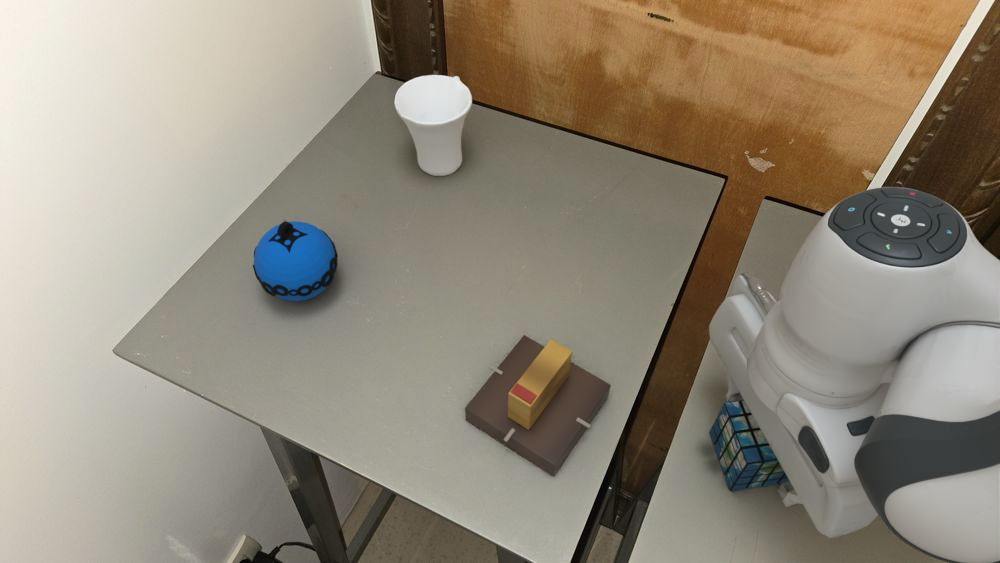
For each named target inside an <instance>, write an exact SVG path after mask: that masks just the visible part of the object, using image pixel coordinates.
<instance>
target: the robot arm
mask: <svg viewBox="0 0 1000 563" xmlns="http://www.w3.org/2000/svg"><path fill="white" fill-rule="evenodd" d="M976 237H977V236H975V234H974V232H973V230H972V229H971V227H970V225H969V223H968V221H967V220H966V218H965V217H964V216H963V215H962V213H960V212H959V210H957V209H956V208H955V207H954V206H952V205H951V204H949V203H948V202H946V201H945V200H943V199H941V198H939V197H937V196H934V195H932V194H930V193H928V192H924V191H921V190H918V189H913V188H908V187H901V186H900V187H899V186H881V187H874V188H870V189H865V190H862V191H859V192H856V193H854V194H851V195H849V196H847V197H845V198H843V199H842V200H841V201H839V202H837V203H836V204H835V205H833V207H831V208H830V209H829V210H828V211H826V212H825V214H824V215H823V216H822V217H821V218H820V219H819V220H818V221H817V223H816V224H815V225H814V226H813V228H812V229H811V230H810V232H809V234H808V235H807V237H806V238H805V239H804V241H803V243H802V244H801V246H800V247H799V250H798V251H797V253H796V255H795V256H794V259H793V260H792V262H791V264H790V266H789V268H788V270H787V272H786V274H785V276H784V278H783V281H782V283H781V287H780V291H779V300H778V301H777V300H776V299H775V297H774V296H773V294H771V293H770V291H768V290H767V288H766V284H764V282H763V281H762V280H761V279H760V278H759V277H757V276H752V274H750V273H748V272H743V273H740V274H739V275H737V277H736V278H735V281H734V283H733V286H732V289H731V296H728V297H726V298H725V299H724V300H723V301H722V302H721V304H720V305H719V307H718V308H717V310H716V311H715V313H714V315H713V316H712V319H711V320H710V323H709V325H708V335H709V340H710V343H711V344H712V347H713V348H714V350H715V351H716V353H717V355H718V356H719V358H720V360H721V362H722V364H723V366H724V367H725V371H726V380H727V388H728V390H727V392H726V395H725V399H726V400H727V402H731V401H740V400H744V401H745V403H746V404H747V406H748V408H749V410H750V412H751V413H752V415H753V417H754V419H755V420H756V422H757V424H758V426H759V427H760V429H761V431H762V433H763V435H764V436H765V438H766V440H767V442H768V443H769V445H770V447H771V449H772V450H773V452H774V454H775V456H776V458H777V459H778V461H779V463H780V465H781V466H782V468H783V470H784V472H785V473H786V475H787V477H788V479H789V480H790V482H789V481H788V482H785V483H782V484H779V488H777V490H776V491H777V493H778V495H779V497H780V499H781V500H782V503H783V504H784V506H785V507H790V506H791V507H792V506H794V505H798V504H800V505H802V506H803V507H804V509H805V511H806V512H807V514H808V517H809V518H810V519H811V521H812V523H813V525H814V527H815V529H816V530H817V532H819V534H821V535H823V536H825V537H826V538H829V539H834V538H838V537H842V536H845V535H848V534H851V533H855V532H857V531H859V530H862V529H864V528H866V527H867V526H869V525H870V524H871V523H872V522H873V521H874V520H875V519H877V517H878V516H879V518H880V519H881V520H882V522H883V523H884V524H885V525H886V526H887V528H888V529H889V530H890V531H891V533H892V534H894V535H895V536H896V537H897V538H898V539H899V540H900V541H902V542H903V543H905V544H906V545H908V546H909V547H910V548H913V549H914V550H916V551H917V552H920V553H922V554H924V555H926V556H928V557H931V558H933V559H936V560H939V561H941V562H942V561H943V562H945V563H1000V259H998V258H997V257H996V256H995V255H994V254H992V253H991V252H990V251H989V250H988V249H986V248H985V246H983V245H982V244H981V242H979V240H978V239H977V238H976Z"/></svg>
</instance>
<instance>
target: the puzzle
mask: <svg viewBox="0 0 1000 563" xmlns="http://www.w3.org/2000/svg"><path fill="white" fill-rule="evenodd" d="M709 437H710V439H711V443H712V445H713V446H714V450H715V453H716V456H717V459H718V460H719V466H720V469H721V470H722V474H723V475H724V480H725V482H726V485H727V489H728V490H729V491H730V492H735V491H742V490H745V489H747V490H749V489H756V488H760V487H770V486H775V485H781V484H782V483H785V482H788V481H789V482H790V480H789V479H788V477H787V475H786V473H785V472H784V470H783V468H782V466H781V465H780V463H779V461H778V459H777V458H776V456H775V454H774V452H773V450H772V449H771V447H770V445H769V443H768V442H767V440H766V438H765V436H764V435H763V433H762V431H761V429H760V427H759V426H758V424H757V422H756V420H755V419H754V417H753V415H752V413H751V412H750V410H749V408H748V406H747V404H746V403H745V401H744V400H740V401H731V402H728V401H725V402H724V403H723V404H722V406H721V408H720V410H719V412H718V414H717V416H716V418H715V420H714V422H713V424H712V426H711V428H710V430H709Z"/></svg>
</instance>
